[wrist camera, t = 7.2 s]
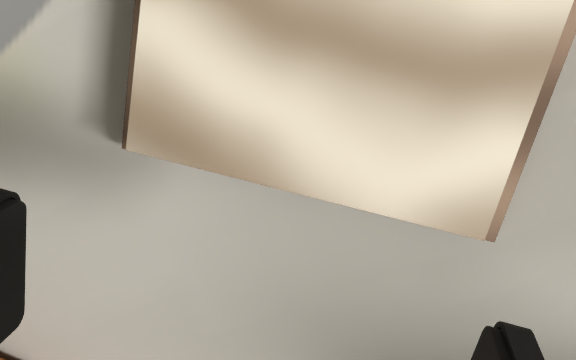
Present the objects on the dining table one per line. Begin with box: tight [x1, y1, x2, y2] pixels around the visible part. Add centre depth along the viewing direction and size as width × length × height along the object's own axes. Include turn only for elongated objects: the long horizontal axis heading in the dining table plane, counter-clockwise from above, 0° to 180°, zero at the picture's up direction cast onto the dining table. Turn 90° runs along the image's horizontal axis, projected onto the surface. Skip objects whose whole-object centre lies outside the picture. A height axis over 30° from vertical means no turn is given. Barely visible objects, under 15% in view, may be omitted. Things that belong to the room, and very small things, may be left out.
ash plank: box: [126, 0, 574, 241], centre depth 20 cm, size 14×15×2 cm
